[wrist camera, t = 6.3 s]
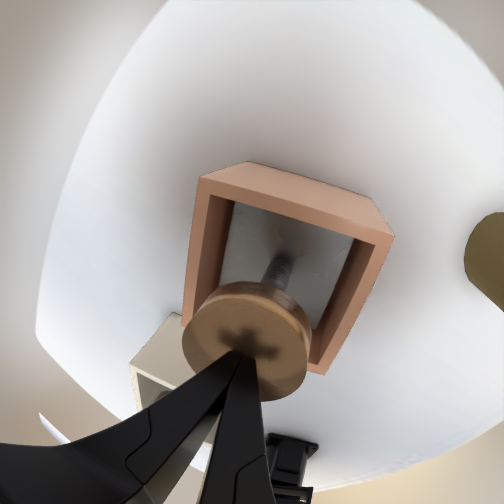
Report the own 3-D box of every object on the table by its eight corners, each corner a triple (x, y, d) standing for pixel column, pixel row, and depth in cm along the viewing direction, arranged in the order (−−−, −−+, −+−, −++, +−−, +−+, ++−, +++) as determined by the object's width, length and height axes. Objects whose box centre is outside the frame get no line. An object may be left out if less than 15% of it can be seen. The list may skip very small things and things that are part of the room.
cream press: (240, 395, 26) (217, 449, 20) (170, 367, 27) (138, 413, 21) (258, 344, 23) (232, 409, 16) (172, 312, 24) (128, 363, 18)
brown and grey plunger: (316, 324, 15) (298, 430, 9) (220, 292, 16) (158, 379, 10) (354, 231, 13) (372, 320, 6) (239, 195, 14) (160, 250, 7)
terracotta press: (329, 303, 19) (324, 375, 13) (225, 269, 21) (180, 326, 14) (370, 198, 16) (394, 235, 10) (247, 161, 17) (199, 176, 11)
